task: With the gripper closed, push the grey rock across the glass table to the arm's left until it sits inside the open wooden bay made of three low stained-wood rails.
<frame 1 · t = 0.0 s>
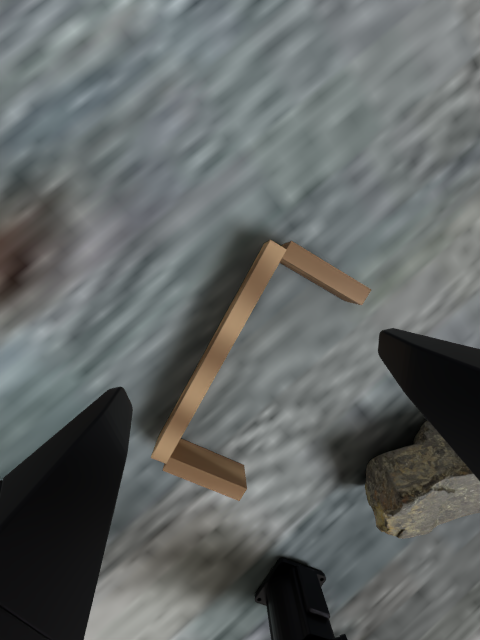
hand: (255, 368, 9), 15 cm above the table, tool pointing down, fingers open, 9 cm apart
rock: (417, 448, 29), on the table
bay: (257, 370, 25), on the table
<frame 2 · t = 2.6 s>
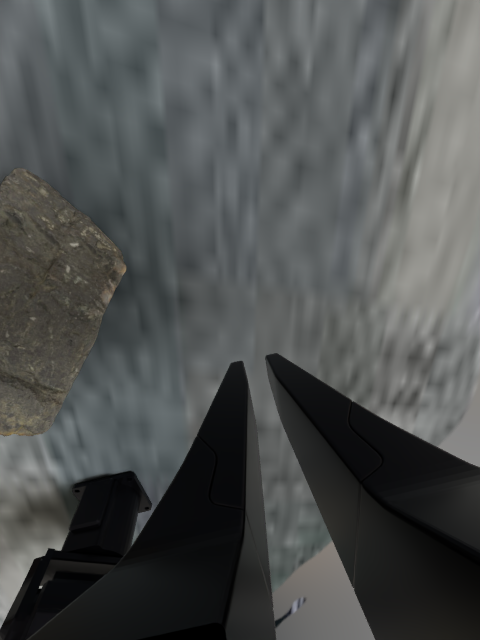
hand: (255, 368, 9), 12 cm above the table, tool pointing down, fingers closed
rock: (63, 302, 19), on the table
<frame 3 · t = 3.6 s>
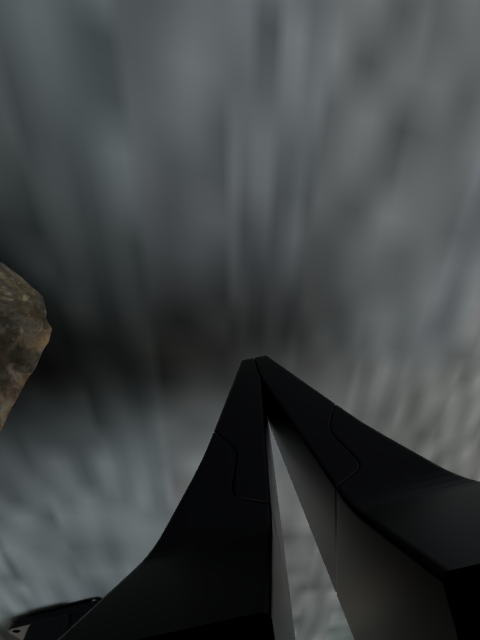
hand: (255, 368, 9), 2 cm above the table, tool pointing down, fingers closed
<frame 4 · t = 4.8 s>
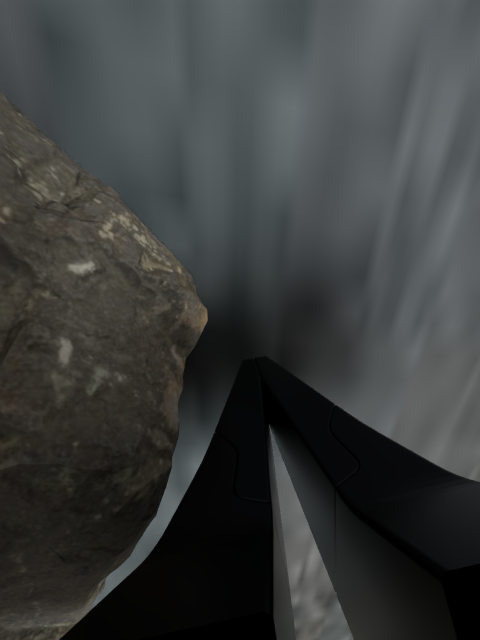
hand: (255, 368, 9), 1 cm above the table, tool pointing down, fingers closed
rock: (64, 376, 10), on the table, touching gripper
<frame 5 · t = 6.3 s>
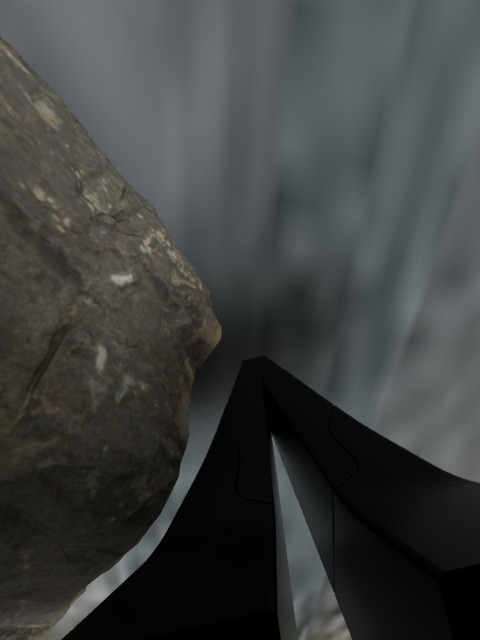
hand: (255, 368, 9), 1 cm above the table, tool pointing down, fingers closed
rock: (61, 371, 9), on the table, touching gripper
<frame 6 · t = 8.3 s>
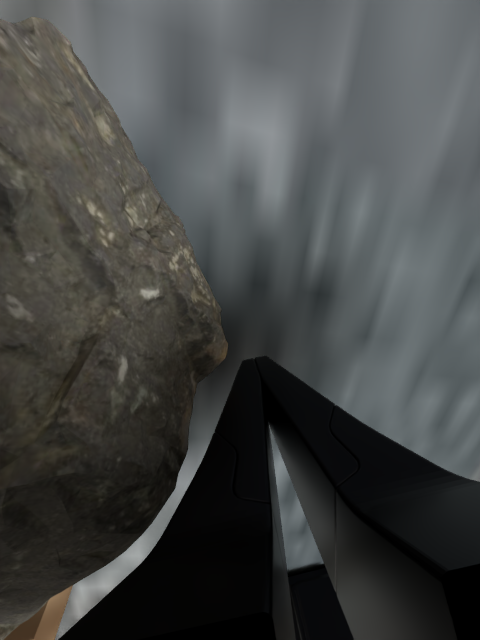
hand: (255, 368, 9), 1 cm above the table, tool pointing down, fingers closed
rock: (56, 363, 9), on the table
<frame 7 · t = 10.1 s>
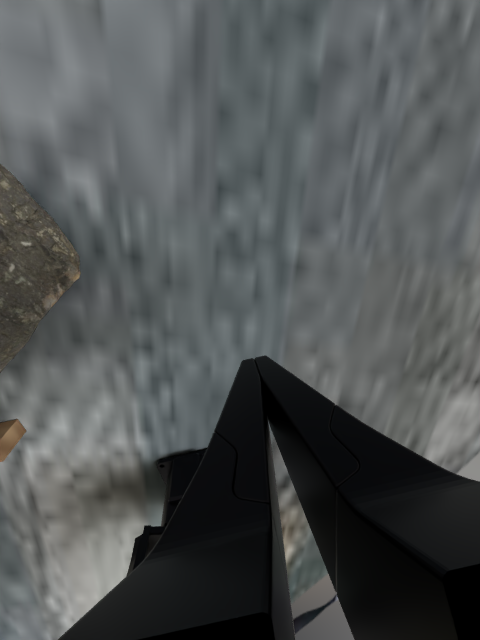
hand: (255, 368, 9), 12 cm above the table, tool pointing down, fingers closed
rock: (7, 291, 18), on the table
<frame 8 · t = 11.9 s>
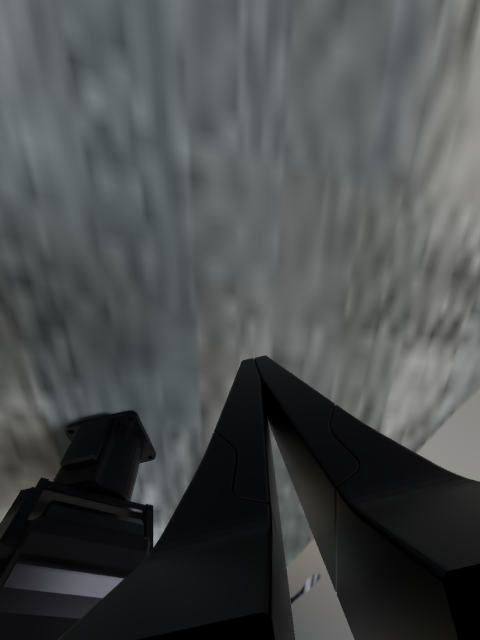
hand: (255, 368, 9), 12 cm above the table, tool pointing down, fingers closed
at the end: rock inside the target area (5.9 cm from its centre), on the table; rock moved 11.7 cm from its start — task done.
